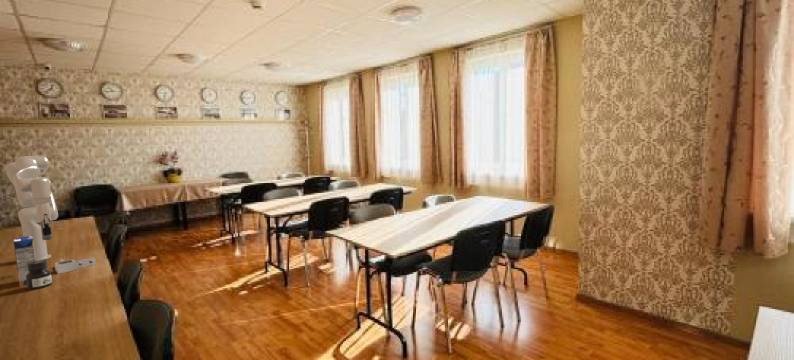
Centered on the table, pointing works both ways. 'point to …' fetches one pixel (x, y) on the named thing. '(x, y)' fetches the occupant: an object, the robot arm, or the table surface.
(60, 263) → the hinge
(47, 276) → the ink bottle
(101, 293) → the table surface
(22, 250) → the beverage box
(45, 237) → the grey upright cylinder
